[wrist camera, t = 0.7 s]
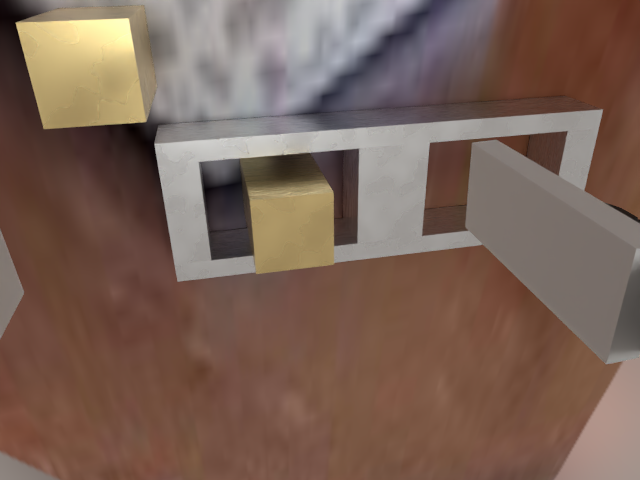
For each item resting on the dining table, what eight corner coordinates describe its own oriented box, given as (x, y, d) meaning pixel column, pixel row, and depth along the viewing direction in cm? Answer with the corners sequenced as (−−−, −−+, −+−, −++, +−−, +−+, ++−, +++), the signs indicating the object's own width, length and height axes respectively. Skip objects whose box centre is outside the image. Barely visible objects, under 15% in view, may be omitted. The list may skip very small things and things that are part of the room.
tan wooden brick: (238, 153, 35) (249, 200, 28) (306, 147, 35) (333, 192, 29) (244, 215, 37) (256, 274, 30) (308, 208, 38) (334, 264, 31)
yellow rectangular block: (58, 8, 29) (15, 22, 22) (144, 5, 30) (128, 18, 23) (77, 91, 31) (43, 129, 24) (157, 87, 32) (146, 122, 25)
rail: (158, 124, 33) (154, 143, 29) (565, 95, 38) (603, 109, 34) (179, 251, 37) (177, 281, 34) (542, 211, 42) (574, 233, 38)
